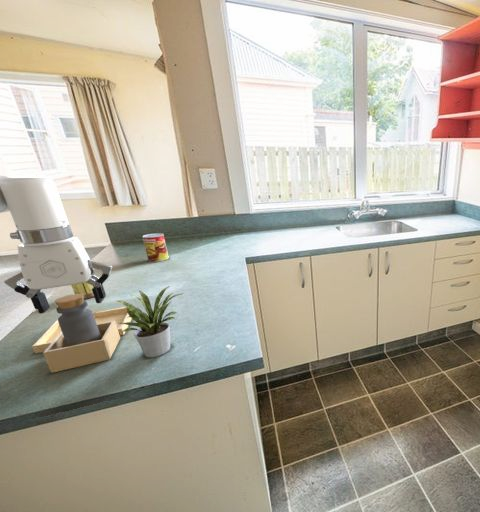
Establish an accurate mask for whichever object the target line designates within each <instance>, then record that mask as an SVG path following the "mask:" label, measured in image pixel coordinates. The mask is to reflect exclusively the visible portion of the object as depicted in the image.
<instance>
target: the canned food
mask: <svg viewBox="0 0 480 512" xmlns="http://www.w3.org/2000/svg"><path fill="white" fill-rule="evenodd" d="M142 241H143V244H144V250H145V252H146V253H145V254H146V257H147V260H148V262H150V263H158V262H164V261H167V260H168V259H169V258H170V257H169V253H168V248H167V244H166V239H165V235H164V233H161V232H157V233H155V232H154V233H148V234H144V235H142Z"/></svg>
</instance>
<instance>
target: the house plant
mask: <svg viewBox="0 0 480 512" xmlns="http://www.w3.org/2000/svg"><path fill="white" fill-rule="evenodd" d="M169 288H170V285H168V286H167V287H164V288H163V289H161V290H160V291H159V293H158V295H157V296H156V298H155V300H154V307H153V308H152V305H151V301H150V299H149V297H148V295H147V294H145V293H144V292H143V291H141V290H138V292H139V294H140V295H138V296H136V295H134V294H130V293H129V295H131V296H132V297H133V298H136V299H137V300H138V301H139V302H140V303H141V305H142V306H143V308H144V310H145V312H143V311H142V310H141V308H140V307H137V306H135V305H133V304H132V303H129V302H126V301H124V300H119V299H118V300H116V302H118V303H120V304H122V305H124V307H127V313H128V315H129V317H131V318H132V319H131V320H133V321H134V322H131V321H130V322H124V323H118V324H126V325H129V326H130V327H128V328H127V329H125V330H123V331H122V332H124V331H126V332H130V331H135V332H134V333H133V334H134V338H135V339H136V341H137V343H138V345H139V346H140V348H141V350H142V352H143V354H144V356H145V357H147V358H155V357H160V356H162V355H164V354H166V353H167V352H169V351H170V350H171V325H170V323H168V322H167V321H170V320H175V319H176V320H177V318H176V317H174V316H173V315H177V316H179V314H178V312H176V311H170V312H168V313H166V314H165V315H164V313H165V312H166V309H167V308H168V306H169V305H171V304H172V301H171V300H172V299H173V298H175V297H178V296H180V295H184V294H185V293H184V292H183V293H177V294H174V292H172V293H169V294H168V295H167V296H165V298H164V300H162V301H161V299H162V298H163V296H164V294H165V292H166V290H167V289H169ZM171 295H172V296H171ZM160 301H161V302H160ZM169 301H170V302H169ZM111 313H114V312H111ZM118 313H121V312H118ZM124 314H125V313H124ZM163 316H164V317H163ZM135 327H138V328H135ZM122 332H121V333H122Z"/></svg>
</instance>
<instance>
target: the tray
mask: <svg viewBox="0 0 480 512" xmlns="http://www.w3.org/2000/svg"><path fill="white" fill-rule="evenodd" d="M111 312H114V313H111ZM118 312H121V313H118ZM124 313H125V314H124ZM93 315H94V318H95V321H96V324H100V323H105V322H110V321H115V322H116V325H117V329H118V332H119V335H120V337H122V336H125V334H126V332H127V331H124V332H122V331H123V330H125V329H127V328H129V326H130V325H126V324H118V323H124V322H131V321H132V320H133V319H132V318H131V317H129V315H128V313H127V307H126V306H123V307H118V308H112V309H106V310H101V311H95V312H93ZM61 331H62V330H61V328H60V325H59V322H58V319H56V321H55V322H54V323H53V324H52V325H51V326H50V327H49V328H48V329H47V330H46V331H45V332H44V333H43V334H42V336H41V337H39V339H38V340H36V342H35V343H34V344H33V345H32V346H31V347H32V350H33V351H34V352H33V353H34V354H35V355H36V354H40V353H43V352H44V351H45V350H46V349H47V348H48V347H49V345H50V344H51V343H52V342H53V341H54V340H55V338H56V337H57V336H58V335H59V334H60V332H61ZM121 332H122V333H121Z"/></svg>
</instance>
